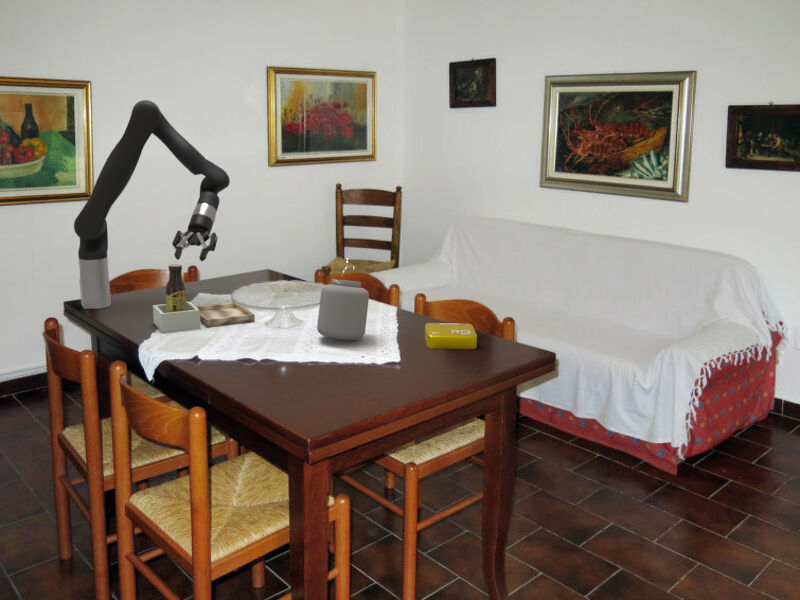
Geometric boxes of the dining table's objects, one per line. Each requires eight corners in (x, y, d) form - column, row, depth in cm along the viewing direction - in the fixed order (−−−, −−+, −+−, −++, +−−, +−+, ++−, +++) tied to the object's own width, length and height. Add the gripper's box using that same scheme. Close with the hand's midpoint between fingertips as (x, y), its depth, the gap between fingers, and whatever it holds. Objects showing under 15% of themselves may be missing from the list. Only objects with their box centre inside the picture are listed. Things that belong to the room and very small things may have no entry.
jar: (338, 327, 248) (339, 251, 242) (379, 333, 242) (380, 256, 236) (308, 342, 232) (307, 261, 226) (350, 349, 226) (351, 267, 220)
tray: (206, 327, 245) (206, 320, 244) (192, 314, 260) (191, 307, 259) (254, 321, 252) (254, 314, 252) (237, 309, 267) (237, 302, 267)
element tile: (471, 336, 244) (471, 321, 243) (477, 350, 229) (478, 335, 228) (424, 335, 243) (424, 321, 242) (427, 349, 229) (428, 334, 228)
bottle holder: (162, 332, 238) (161, 314, 236) (153, 323, 248) (152, 305, 246) (200, 328, 244) (199, 310, 242) (190, 319, 254) (190, 301, 252)
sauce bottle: (174, 329, 241) (171, 268, 237) (162, 326, 245) (159, 265, 240) (191, 325, 247) (188, 265, 242) (179, 321, 250) (176, 262, 245)
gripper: (179, 212, 257) (164, 251, 249) (218, 214, 255) (205, 253, 247) (186, 225, 264) (173, 264, 256) (225, 227, 261) (213, 266, 253)
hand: (189, 259), depth 251 cm, fingers open, 8 cm apart
